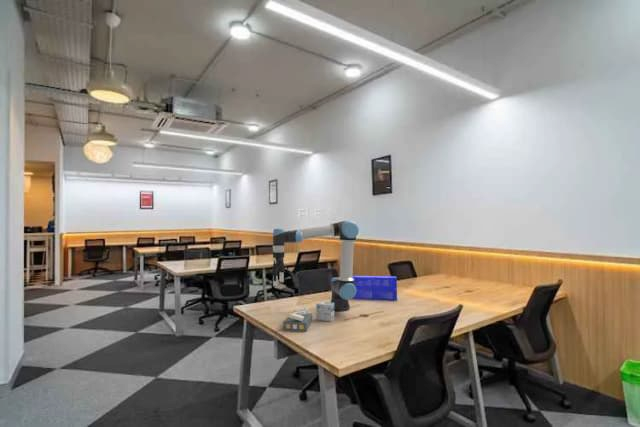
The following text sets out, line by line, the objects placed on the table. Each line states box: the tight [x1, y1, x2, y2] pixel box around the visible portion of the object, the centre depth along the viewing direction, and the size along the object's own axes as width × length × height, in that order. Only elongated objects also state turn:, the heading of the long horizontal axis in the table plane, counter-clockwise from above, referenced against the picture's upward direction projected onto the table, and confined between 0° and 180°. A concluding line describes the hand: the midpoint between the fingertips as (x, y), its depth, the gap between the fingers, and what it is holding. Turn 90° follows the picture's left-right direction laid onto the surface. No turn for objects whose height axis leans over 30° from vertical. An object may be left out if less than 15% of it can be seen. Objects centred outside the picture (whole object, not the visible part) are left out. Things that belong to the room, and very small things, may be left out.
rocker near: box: [287, 312, 304, 321], centre depth 197 cm, size 9×4×2 cm, turn 82°
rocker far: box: [292, 306, 309, 313], centre depth 210 cm, size 9×4×2 cm, turn 82°
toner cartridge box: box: [351, 275, 398, 301], centre depth 273 cm, size 39×8×18 cm, turn 79°
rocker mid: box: [292, 310, 307, 315], centre depth 203 cm, size 9×4×2 cm, turn 82°
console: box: [282, 312, 313, 333], centre depth 203 cm, size 14×20×6 cm
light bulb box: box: [315, 301, 335, 322], centre depth 216 cm, size 11×7×11 cm, turn 71°
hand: (278, 284), depth 217 cm, fingers open, 13 cm apart
